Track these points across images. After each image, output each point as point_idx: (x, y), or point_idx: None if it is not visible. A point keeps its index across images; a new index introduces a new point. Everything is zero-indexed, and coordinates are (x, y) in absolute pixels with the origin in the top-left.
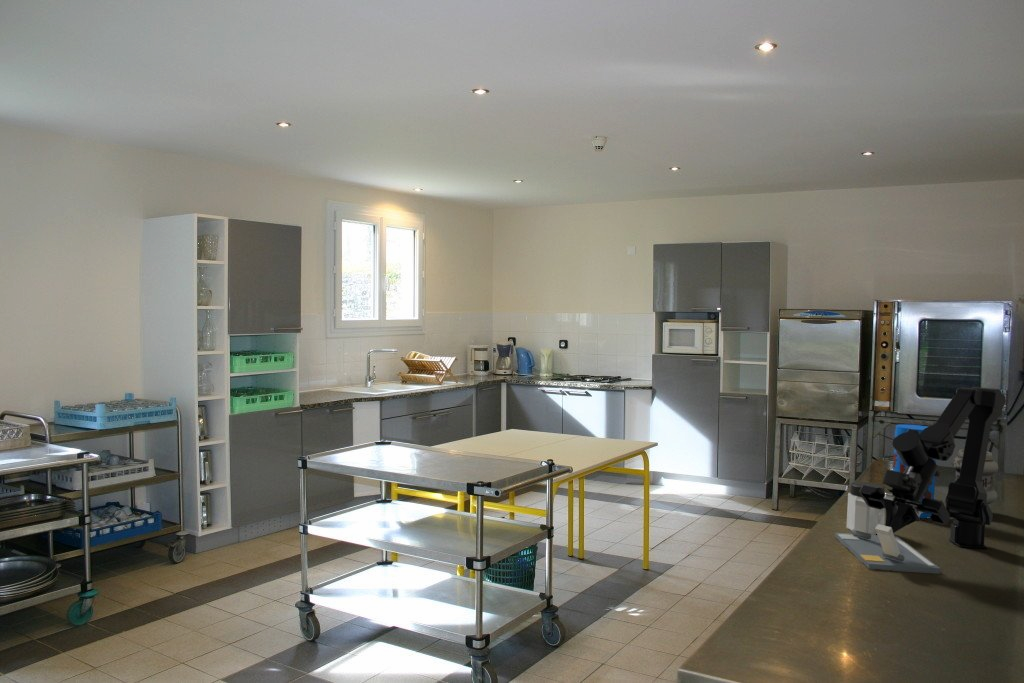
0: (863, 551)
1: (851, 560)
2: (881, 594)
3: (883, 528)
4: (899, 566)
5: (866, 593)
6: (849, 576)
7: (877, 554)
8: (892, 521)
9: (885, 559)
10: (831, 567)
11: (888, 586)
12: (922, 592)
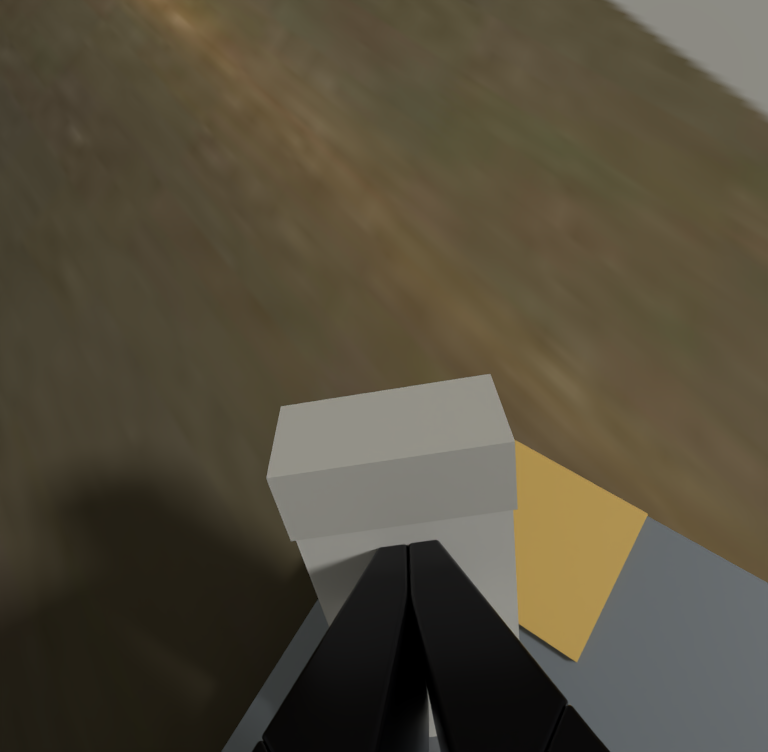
0: (758, 666)
1: (654, 463)
2: (138, 166)
3: (376, 419)
4: (316, 606)
5: (182, 119)
6: (385, 206)
7: (637, 724)
8: (369, 682)
9: None
10: (551, 222)
11: (181, 278)
12: (28, 374)
